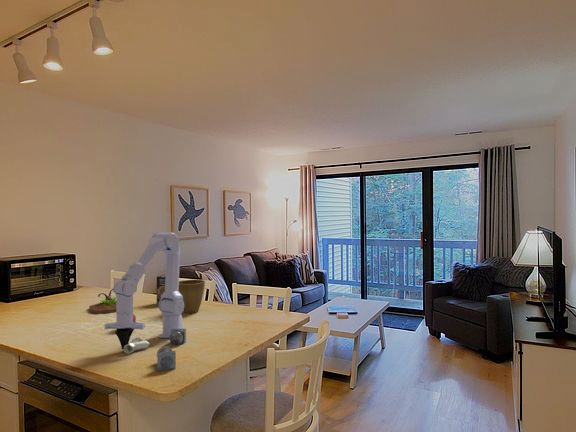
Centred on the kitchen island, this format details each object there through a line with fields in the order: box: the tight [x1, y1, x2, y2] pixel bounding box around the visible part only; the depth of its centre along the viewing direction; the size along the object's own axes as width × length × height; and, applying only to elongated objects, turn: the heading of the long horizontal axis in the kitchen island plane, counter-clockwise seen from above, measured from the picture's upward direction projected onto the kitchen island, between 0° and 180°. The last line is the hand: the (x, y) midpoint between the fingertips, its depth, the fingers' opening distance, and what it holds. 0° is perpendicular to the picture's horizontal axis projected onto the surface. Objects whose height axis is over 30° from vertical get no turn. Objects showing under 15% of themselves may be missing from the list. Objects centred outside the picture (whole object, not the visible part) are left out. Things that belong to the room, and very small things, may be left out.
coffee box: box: [156, 275, 166, 305], centre depth 218 cm, size 9×6×16 cm
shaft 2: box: [168, 328, 187, 346], centre depth 148 cm, size 4×6×5 cm
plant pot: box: [178, 279, 206, 314], centre depth 200 cm, size 15×15×16 cm
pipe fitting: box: [123, 336, 150, 355], centre depth 141 cm, size 8×4×7 cm
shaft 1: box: [156, 346, 177, 372], centre depth 126 cm, size 8×6×5 cm
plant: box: [88, 288, 116, 315], centre depth 206 cm, size 20×20×11 cm
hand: (124, 348), depth 139 cm, fingers closed
